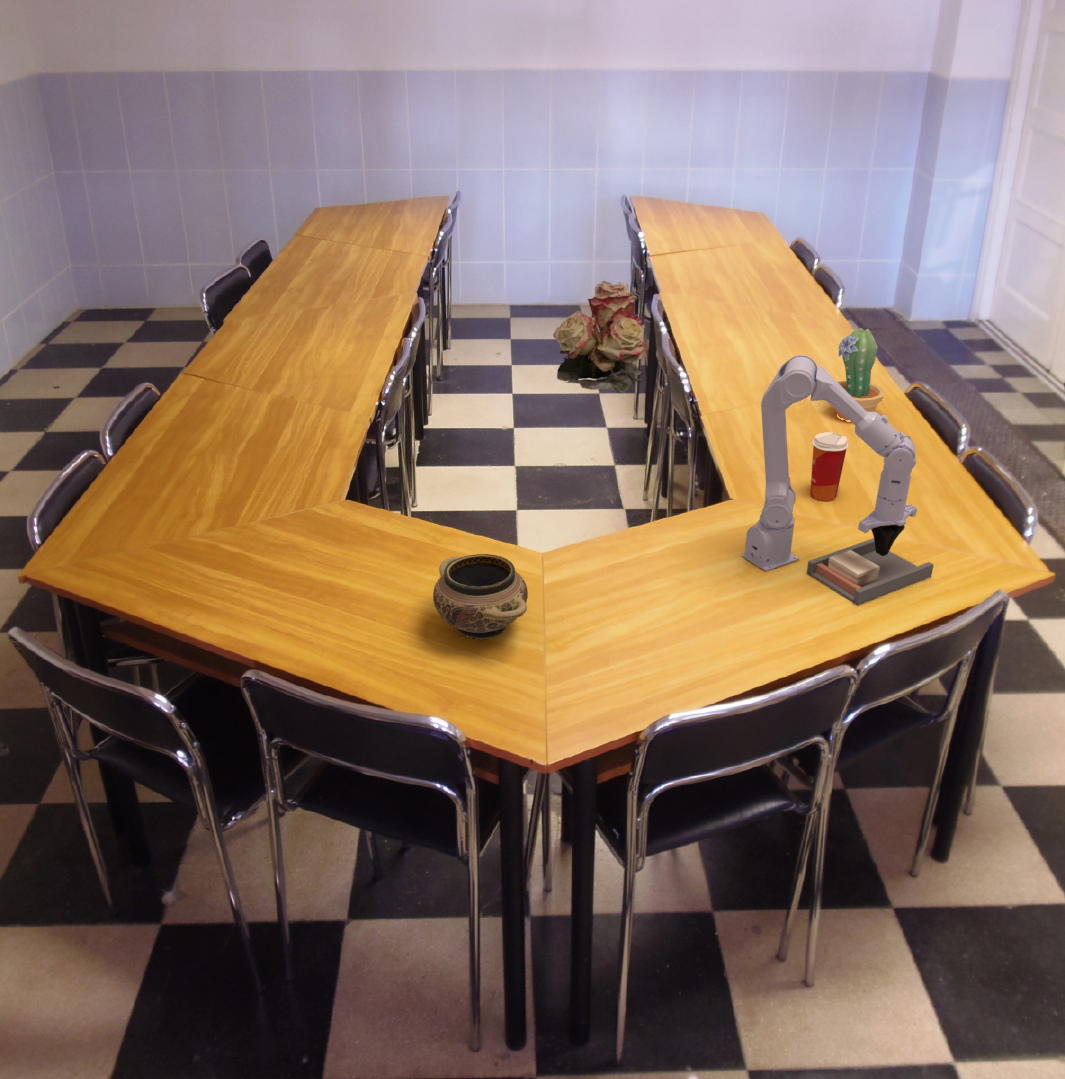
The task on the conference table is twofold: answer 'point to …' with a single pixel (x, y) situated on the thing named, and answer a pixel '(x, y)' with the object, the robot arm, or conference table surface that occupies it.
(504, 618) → the ceramic bowl
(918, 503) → the conference table surface
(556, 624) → the conference table surface
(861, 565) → the tan layered slab
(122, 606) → the conference table surface
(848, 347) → the potted cactus
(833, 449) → the coffee cup
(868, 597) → the bay
